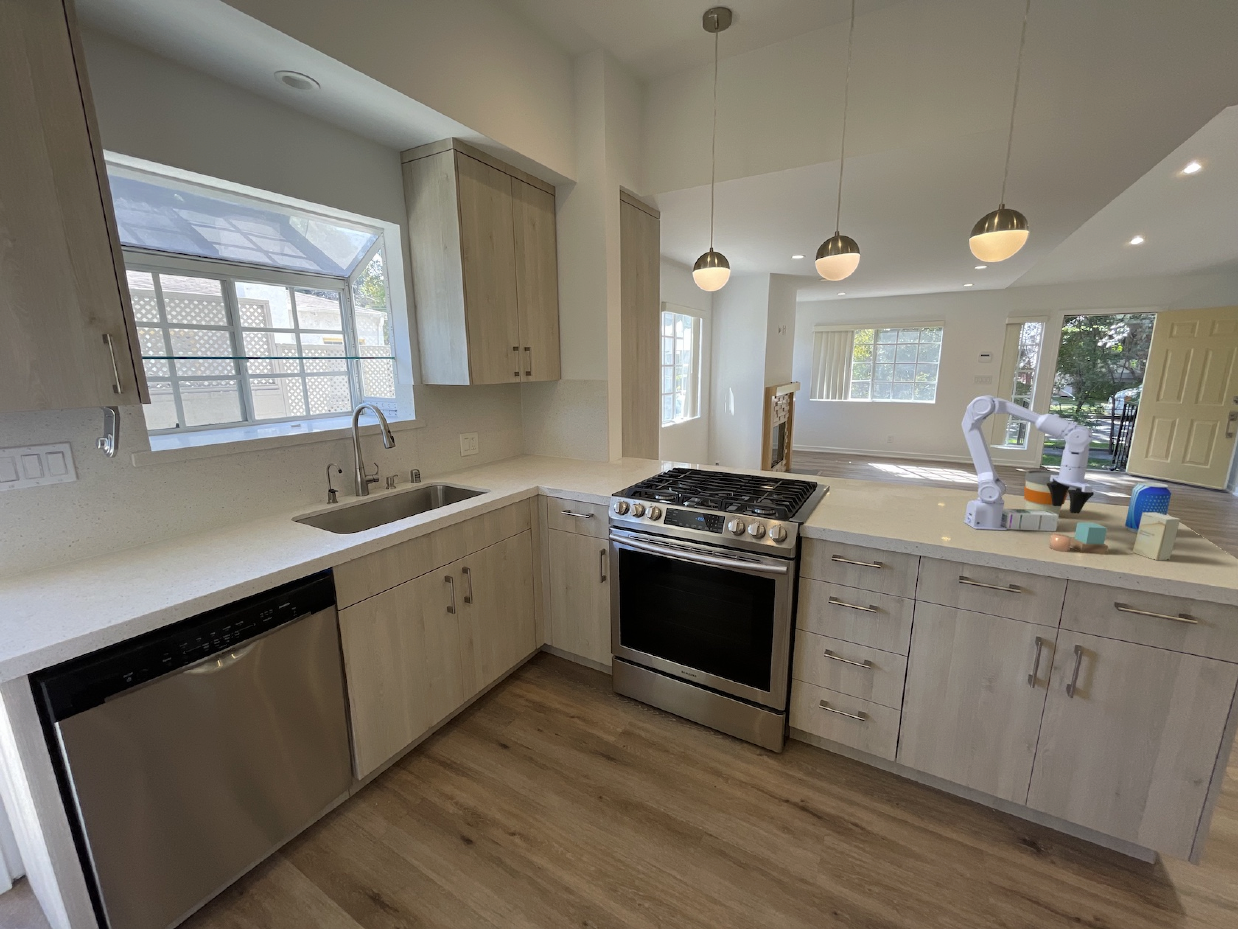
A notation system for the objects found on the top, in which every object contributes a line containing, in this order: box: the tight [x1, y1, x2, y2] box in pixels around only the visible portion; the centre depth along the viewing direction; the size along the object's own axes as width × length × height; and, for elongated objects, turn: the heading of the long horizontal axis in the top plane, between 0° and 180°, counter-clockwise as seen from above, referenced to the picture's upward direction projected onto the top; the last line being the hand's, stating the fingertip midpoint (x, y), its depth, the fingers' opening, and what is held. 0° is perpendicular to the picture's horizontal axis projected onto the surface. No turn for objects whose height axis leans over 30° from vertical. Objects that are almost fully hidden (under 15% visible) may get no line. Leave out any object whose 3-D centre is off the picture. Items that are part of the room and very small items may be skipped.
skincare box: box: [1132, 512, 1181, 561], centre depth 137 cm, size 6×4×12 cm
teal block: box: [1074, 522, 1108, 545], centre depth 143 cm, size 4×4×5 cm
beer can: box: [1124, 481, 1172, 534], centre depth 157 cm, size 8×8×16 cm
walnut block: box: [1070, 536, 1109, 556], centre depth 143 cm, size 6×6×3 cm
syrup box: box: [1001, 508, 1060, 532], centre depth 163 cm, size 6×6×14 cm
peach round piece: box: [1048, 533, 1072, 553], centre depth 144 cm, size 4×4×4 cm
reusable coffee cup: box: [1023, 469, 1069, 515], centre depth 176 cm, size 13×13×15 cm
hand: (1065, 509), depth 150 cm, fingers open, 7 cm apart
